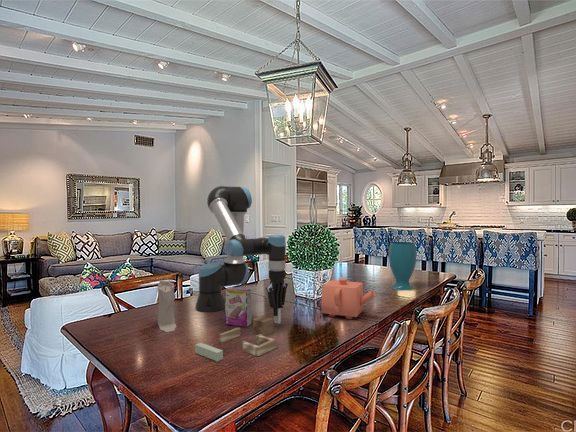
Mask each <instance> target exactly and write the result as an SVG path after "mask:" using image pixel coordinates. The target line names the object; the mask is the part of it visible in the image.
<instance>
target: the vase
mask: <svg viewBox="0 0 576 432" xmlns="http://www.w3.org/2000/svg"><path fill="white" fill-rule="evenodd" d="M416 247H417V246H416V243H415V242H408V241H392V242H389V247H388V261H389V262H388V264H389V267H390V270H391V272H392V274H393V276H394V279H395V283H394V284H393V285H392V286H390V288H391V289H393V290H397V291H413V290H415V288H414V287H413V286H412V285H411V284H410V280H411V277H412V275H413V274H414V271H415V269H416V263H417V256H418V255H417V248H416Z"/></svg>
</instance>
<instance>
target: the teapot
mask: <svg viewBox="0 0 576 432" xmlns="http://www.w3.org/2000/svg"><path fill="white" fill-rule="evenodd" d="M376 296H377V295H376V293H375V292H374V291H373V290H370V291H368V292H367V293H365V294H364V283H363V282H360V281H359V282H358V281H356V282H355V281H348V279H347V278H346V277H345V278H344V277H343V278H342V277H341V278H338V280H332V279H331V280H329V281H327V282H325V284H323V285H322V287H321V303H320V304H321V313H322V314H326V315H327V314H328V317H330V318H335V317H336V316H341V317H345V319H346V320H352V319H353V318H358V317H359V315H360V314H361V313H362V312H363V311H364V305H365V304H366V303H368V302H369V301H371V300H372V299H374V298H376Z"/></svg>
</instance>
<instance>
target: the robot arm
mask: <svg viewBox="0 0 576 432" xmlns="http://www.w3.org/2000/svg"><path fill="white" fill-rule="evenodd" d="M252 199H253V198H252V195H251V192H250V190H249V188H247V187H242V186H224V185H221V186H216V187H215V188H213V189H212V190H210V192H209V193H208V196H207V207H208V209H209V211H210V212H211V213H212V214H214V216H215V218H216V220H217V222H218V224H219V227H220V228H221V230H222V232H223V234H224V235H225V238H226V240H227V242H226V258H225V259H224V260H223V264H222V263H221V262H210V263H206V264H203V265H201V266H200V267H199V269H198V297H197V301H196V303H195V310H196V311H199V312H203V313H213V312H218V311H222V310H225V300H224V299H225V298H224V296H223V293H222V288H224V287H233V286H239V285H242V284H245V283H246V282H247V281H248V278H249V275H250V269H249V266H248V263H246V260H245V259H244V258H243V257H246V256H258V255H268V279H269V286H266V287H265V290H266V293H267V296H268V297H267V298H268V303H269V308H271V309H272V310H273V313H272V314H273V324H274V323H275V324H281V323H282V322H281V321H282V320H281V319H282V317H281V316H282V309H283V308H284V306H285V301H286V296H287V295H286V294H287V288H288V285H289V284H288V283H287V282H285V279H286V274H287V273H286V272H287V271H286V270H285V269H286V268H287V267H286V247H287V243H286V236H285V235H284V234H270V235H268V238H267V237H265V236H264V237H263V236H262V237H258V238H246V237H245V235H244V225H245V215H246V214H247V213H248V209H250V208H251V206H252V203H253V201H252Z"/></svg>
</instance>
